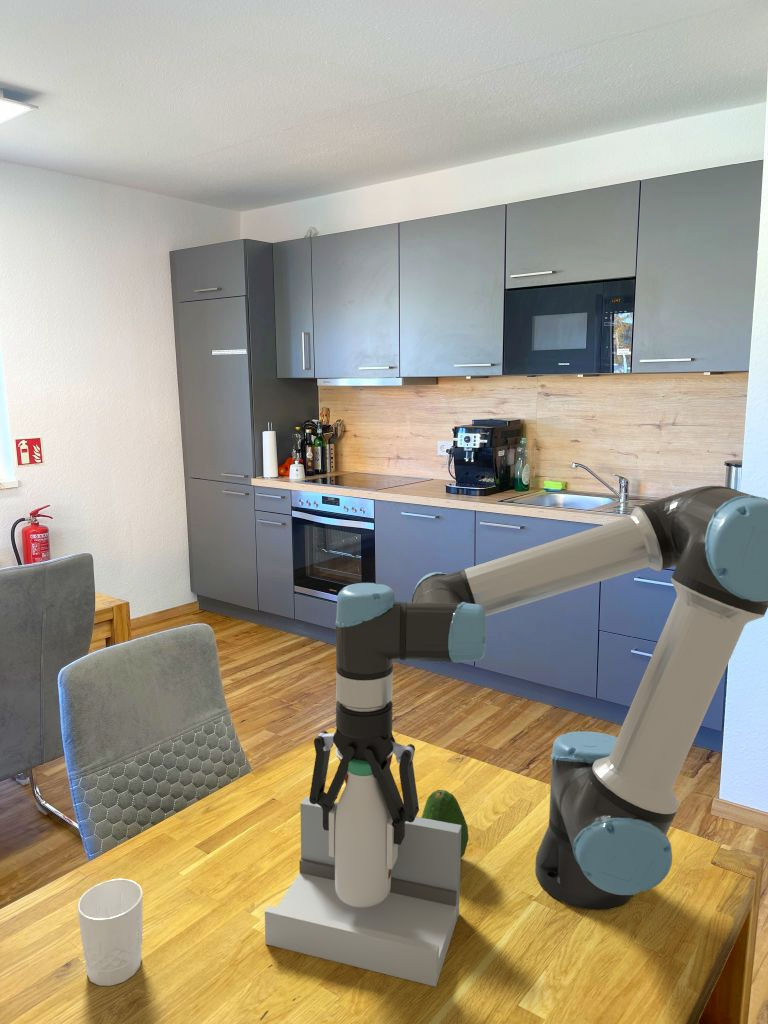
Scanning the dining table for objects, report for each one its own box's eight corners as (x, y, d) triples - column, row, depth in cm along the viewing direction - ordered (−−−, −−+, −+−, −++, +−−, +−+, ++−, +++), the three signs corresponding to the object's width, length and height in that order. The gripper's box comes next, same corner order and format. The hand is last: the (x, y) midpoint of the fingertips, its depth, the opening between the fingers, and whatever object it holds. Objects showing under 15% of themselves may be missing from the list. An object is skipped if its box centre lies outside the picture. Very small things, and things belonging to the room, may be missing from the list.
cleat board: (459, 913, 109) (461, 825, 107) (435, 986, 96) (438, 887, 93) (306, 880, 116) (305, 796, 114) (265, 944, 103) (263, 850, 100)
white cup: (124, 936, 104) (121, 870, 102) (158, 964, 99) (154, 895, 97) (70, 969, 98) (65, 900, 96) (103, 1001, 93) (98, 928, 91)
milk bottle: (384, 913, 100) (386, 773, 96) (328, 905, 101) (328, 767, 98) (395, 876, 107) (397, 746, 104) (343, 869, 109) (343, 740, 105)
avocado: (426, 842, 126) (427, 776, 124) (472, 853, 123) (474, 785, 121) (411, 871, 118) (412, 801, 116) (460, 882, 116) (462, 811, 114)
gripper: (446, 699, 100) (441, 855, 104) (304, 680, 106) (305, 828, 110) (432, 723, 93) (428, 889, 97) (281, 700, 99) (283, 858, 103)
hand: (363, 856), depth 103 cm, fingers closed on milk bottle, 8 cm apart
